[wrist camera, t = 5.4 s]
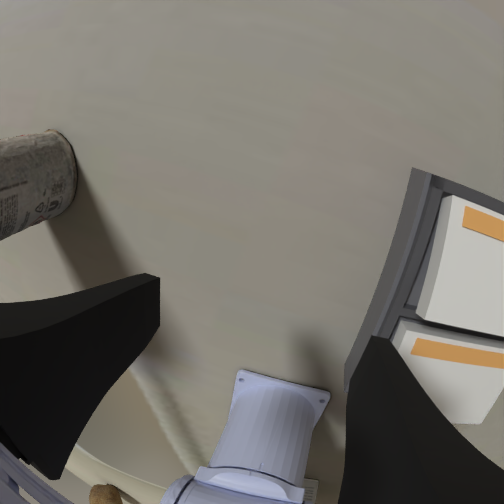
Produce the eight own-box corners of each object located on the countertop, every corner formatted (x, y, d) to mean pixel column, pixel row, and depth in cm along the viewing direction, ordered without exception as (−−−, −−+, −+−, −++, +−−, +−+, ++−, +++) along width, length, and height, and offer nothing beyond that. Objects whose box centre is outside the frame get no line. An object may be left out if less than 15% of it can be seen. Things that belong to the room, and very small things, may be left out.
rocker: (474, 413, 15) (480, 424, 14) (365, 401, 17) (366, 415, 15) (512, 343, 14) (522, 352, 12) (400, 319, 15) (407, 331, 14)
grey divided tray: (465, 384, 19) (475, 413, 16) (344, 364, 21) (343, 398, 18) (544, 222, 13) (571, 238, 10) (412, 167, 16) (430, 173, 12)
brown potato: (137, 500, 52) (120, 527, 43) (114, 491, 55) (98, 516, 46) (116, 482, 50) (97, 510, 41) (94, 474, 53) (76, 499, 44)
